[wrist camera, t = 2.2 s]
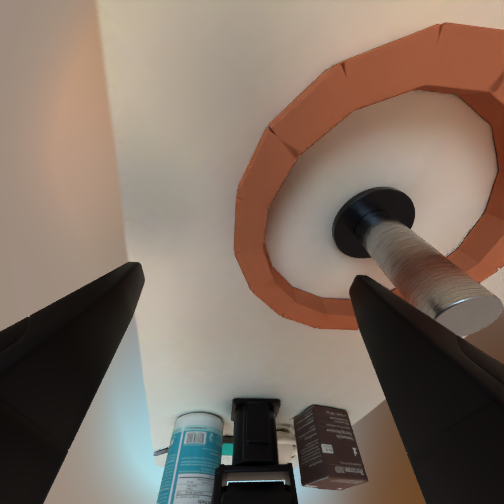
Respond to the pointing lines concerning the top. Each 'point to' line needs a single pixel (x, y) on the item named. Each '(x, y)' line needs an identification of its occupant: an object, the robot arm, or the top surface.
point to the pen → (161, 452)
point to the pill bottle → (192, 460)
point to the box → (327, 449)
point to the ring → (340, 106)
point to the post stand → (412, 261)
